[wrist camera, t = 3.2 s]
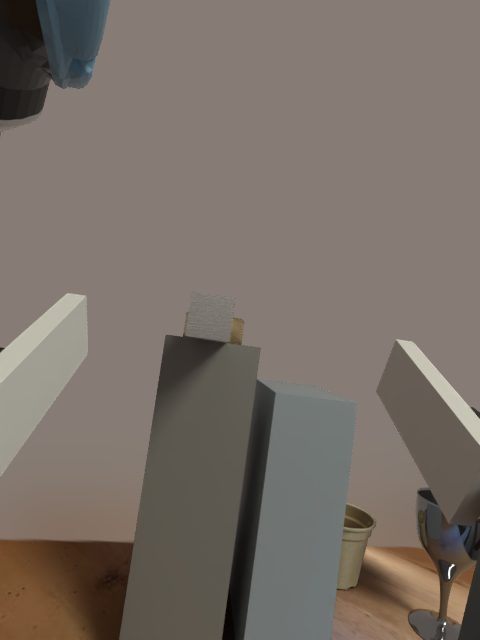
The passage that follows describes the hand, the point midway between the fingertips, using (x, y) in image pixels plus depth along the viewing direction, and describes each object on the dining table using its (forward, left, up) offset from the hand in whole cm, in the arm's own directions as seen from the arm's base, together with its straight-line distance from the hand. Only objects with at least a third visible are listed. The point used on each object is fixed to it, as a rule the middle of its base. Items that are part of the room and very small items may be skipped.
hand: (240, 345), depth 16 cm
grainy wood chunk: (-1, +21, 0) cm, 21 cm away
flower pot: (+21, +37, -30) cm, 52 cm away
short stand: (+10, +27, -30) cm, 41 cm away
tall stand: (-1, +27, -30) cm, 40 cm away
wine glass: (+30, +28, -30) cm, 51 cm away
